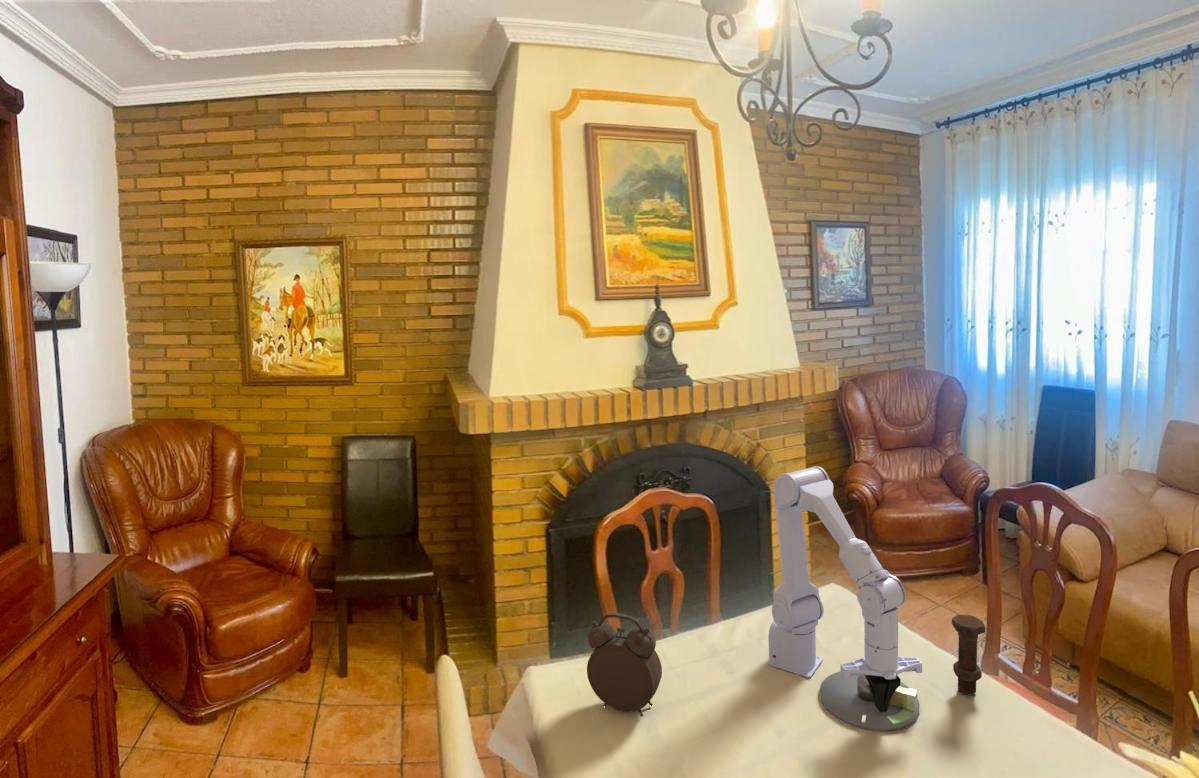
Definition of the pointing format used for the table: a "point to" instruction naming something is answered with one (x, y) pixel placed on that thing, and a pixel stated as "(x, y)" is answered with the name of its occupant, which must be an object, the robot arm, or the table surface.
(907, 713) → the dial plate
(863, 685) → the peg lever
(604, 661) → the alarm clock
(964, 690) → the bolt
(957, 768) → the table surface
